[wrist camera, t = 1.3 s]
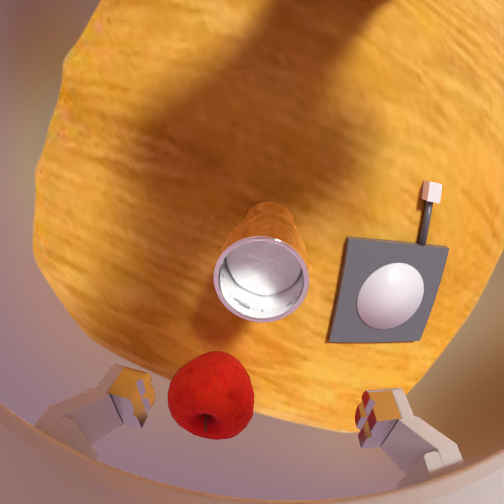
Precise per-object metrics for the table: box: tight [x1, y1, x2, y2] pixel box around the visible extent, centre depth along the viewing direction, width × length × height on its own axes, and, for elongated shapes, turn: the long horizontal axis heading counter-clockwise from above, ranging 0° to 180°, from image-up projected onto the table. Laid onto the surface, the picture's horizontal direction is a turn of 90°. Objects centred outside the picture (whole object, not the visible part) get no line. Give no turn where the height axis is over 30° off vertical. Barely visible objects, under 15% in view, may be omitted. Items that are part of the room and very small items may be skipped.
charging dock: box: [328, 180, 449, 342], centre depth 32 cm, size 23×15×2 cm, turn 178°
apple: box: [168, 351, 254, 440], centre depth 35 cm, size 12×12×13 cm
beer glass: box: [213, 201, 309, 322], centre depth 26 cm, size 7×7×15 cm
